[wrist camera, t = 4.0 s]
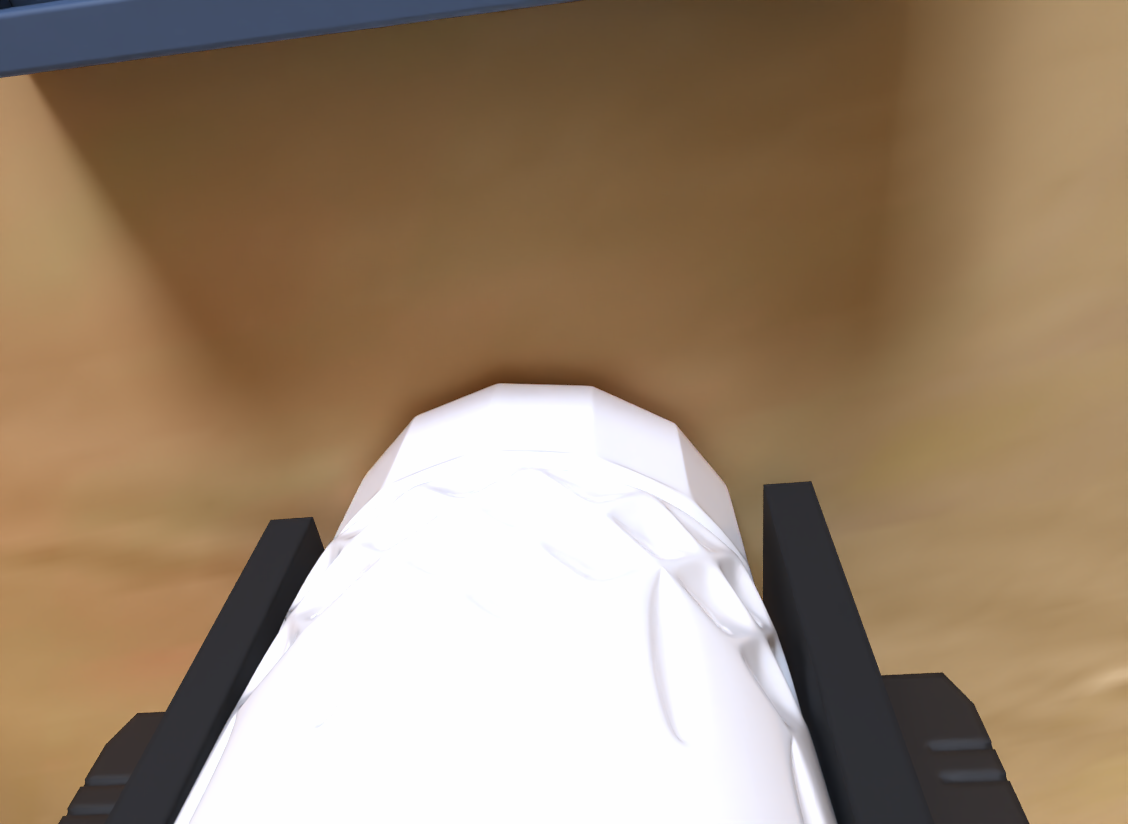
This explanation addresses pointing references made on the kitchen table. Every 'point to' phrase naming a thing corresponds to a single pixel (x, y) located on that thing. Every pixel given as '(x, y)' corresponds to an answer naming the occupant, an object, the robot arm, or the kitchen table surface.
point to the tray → (194, 25)
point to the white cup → (524, 640)
